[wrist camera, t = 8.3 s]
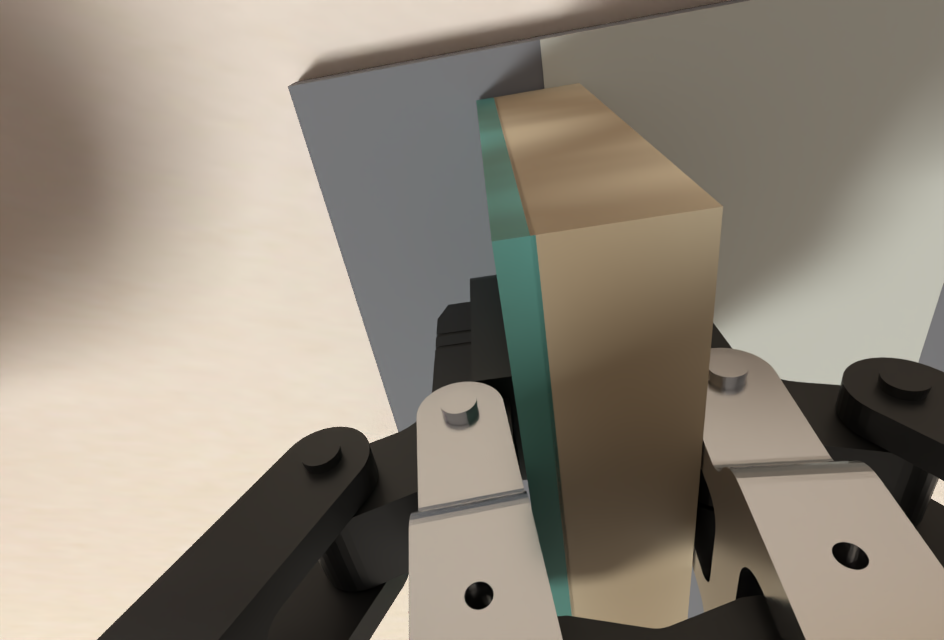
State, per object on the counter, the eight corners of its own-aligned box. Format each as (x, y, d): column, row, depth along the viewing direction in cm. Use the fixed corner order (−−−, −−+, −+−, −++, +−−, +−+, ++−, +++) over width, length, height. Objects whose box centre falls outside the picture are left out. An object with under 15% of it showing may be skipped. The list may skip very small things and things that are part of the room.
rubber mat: (1076, -65, 10) (1113, -68, 10) (849, 610, 21) (859, 627, 21) (296, 81, 11) (286, 87, 11) (472, 646, 23) (472, 663, 22)
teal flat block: (579, 83, 11) (722, 205, 5) (595, 396, 15) (683, 670, 9) (476, 100, 11) (490, 241, 5) (520, 405, 15) (557, 682, 9)
